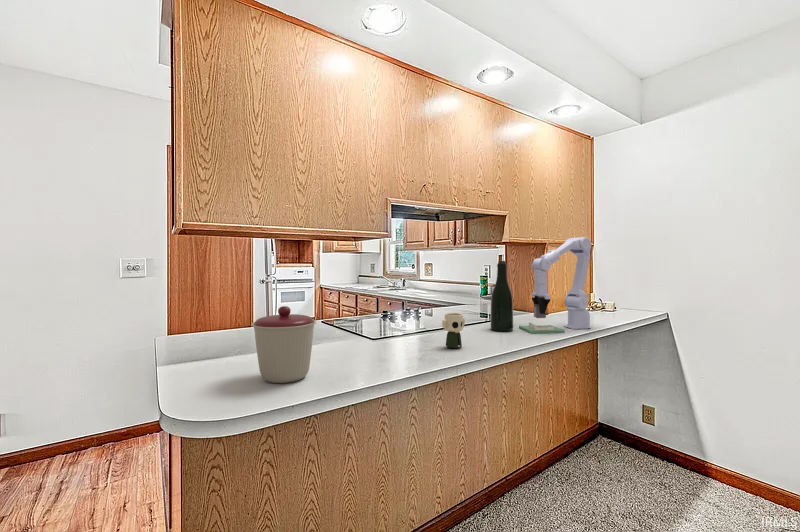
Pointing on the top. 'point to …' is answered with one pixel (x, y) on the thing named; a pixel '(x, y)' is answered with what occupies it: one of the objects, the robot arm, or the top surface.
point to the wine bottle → (501, 302)
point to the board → (541, 329)
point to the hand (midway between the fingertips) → (540, 313)
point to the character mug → (453, 329)
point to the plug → (538, 312)
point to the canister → (284, 345)
